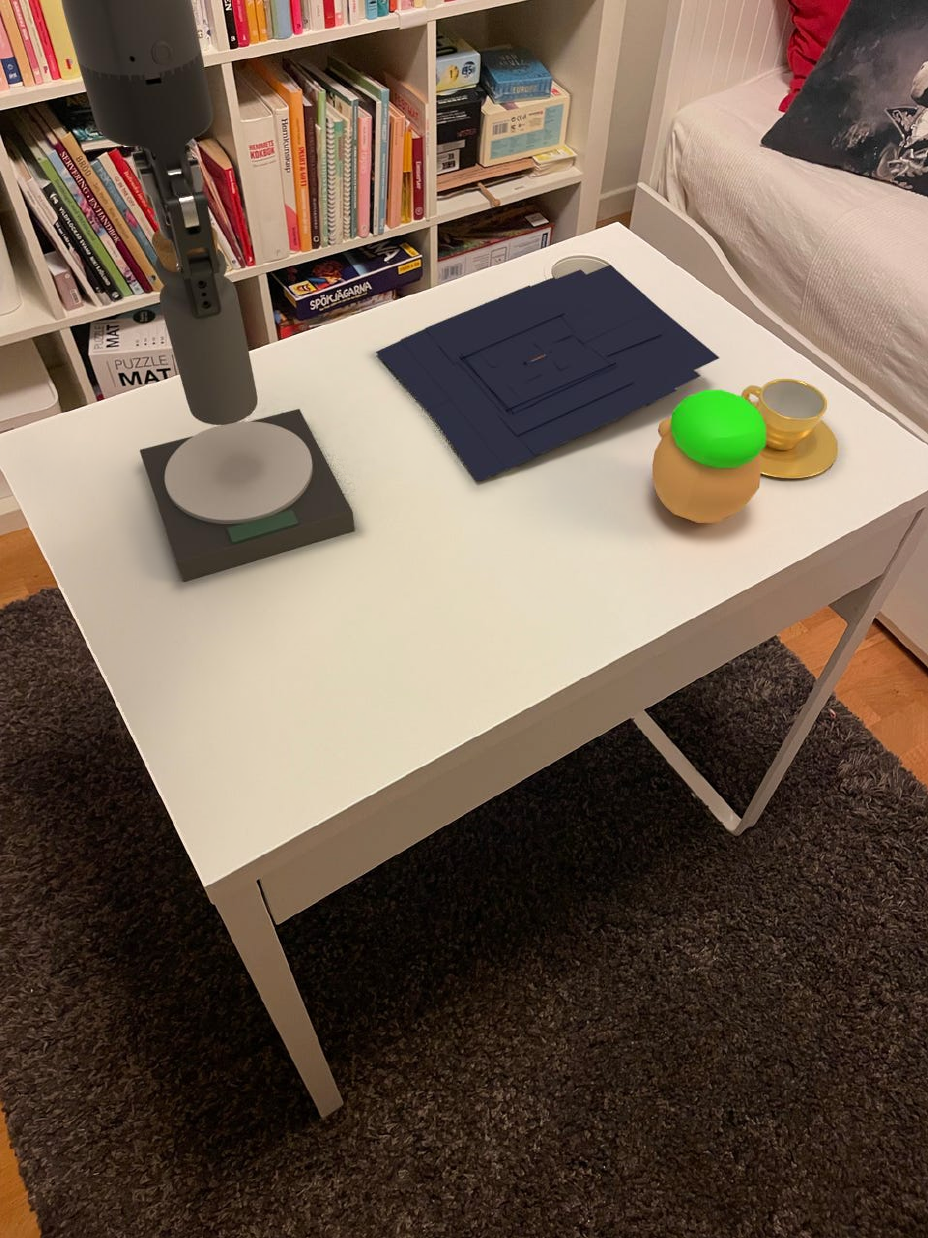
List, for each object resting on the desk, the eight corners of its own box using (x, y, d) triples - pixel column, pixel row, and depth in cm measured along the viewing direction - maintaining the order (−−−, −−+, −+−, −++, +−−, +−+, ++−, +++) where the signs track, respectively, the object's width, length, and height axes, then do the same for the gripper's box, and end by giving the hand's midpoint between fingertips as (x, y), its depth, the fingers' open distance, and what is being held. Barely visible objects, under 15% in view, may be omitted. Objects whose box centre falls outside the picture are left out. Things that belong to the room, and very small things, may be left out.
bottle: (175, 404, 76) (126, 236, 65) (230, 374, 79) (193, 208, 68) (217, 435, 74) (174, 266, 62) (272, 403, 77) (241, 235, 65)
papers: (727, 388, 95) (732, 360, 92) (481, 502, 89) (478, 477, 86) (600, 277, 108) (601, 249, 105) (378, 370, 102) (372, 343, 99)
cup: (857, 438, 92) (876, 395, 88) (801, 498, 86) (819, 455, 82) (754, 389, 97) (768, 346, 93) (695, 443, 91) (707, 400, 87)
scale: (183, 582, 79) (174, 558, 76) (146, 469, 88) (137, 444, 85) (355, 530, 83) (352, 506, 80) (302, 427, 92) (298, 403, 89)
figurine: (764, 531, 83) (804, 430, 74) (670, 552, 82) (699, 451, 72) (709, 454, 90) (739, 352, 81) (621, 472, 88) (641, 370, 79)
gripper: (58, 14, 58) (129, 257, 72) (96, 99, 50) (168, 355, 63) (172, 0, 60) (221, 239, 74) (227, 79, 52) (271, 332, 65)
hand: (196, 292), depth 68 cm, fingers closed on bottle, 5 cm apart
